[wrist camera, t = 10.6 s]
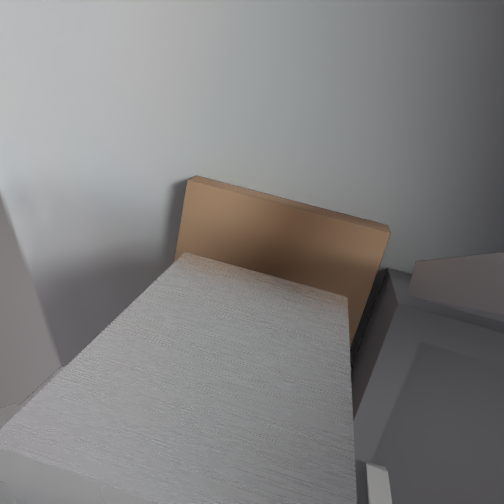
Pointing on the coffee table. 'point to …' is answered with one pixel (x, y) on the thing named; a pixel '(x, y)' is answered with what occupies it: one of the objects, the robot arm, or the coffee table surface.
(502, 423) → the case
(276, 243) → the board
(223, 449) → the block
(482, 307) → the lid
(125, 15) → the coffee table surface
